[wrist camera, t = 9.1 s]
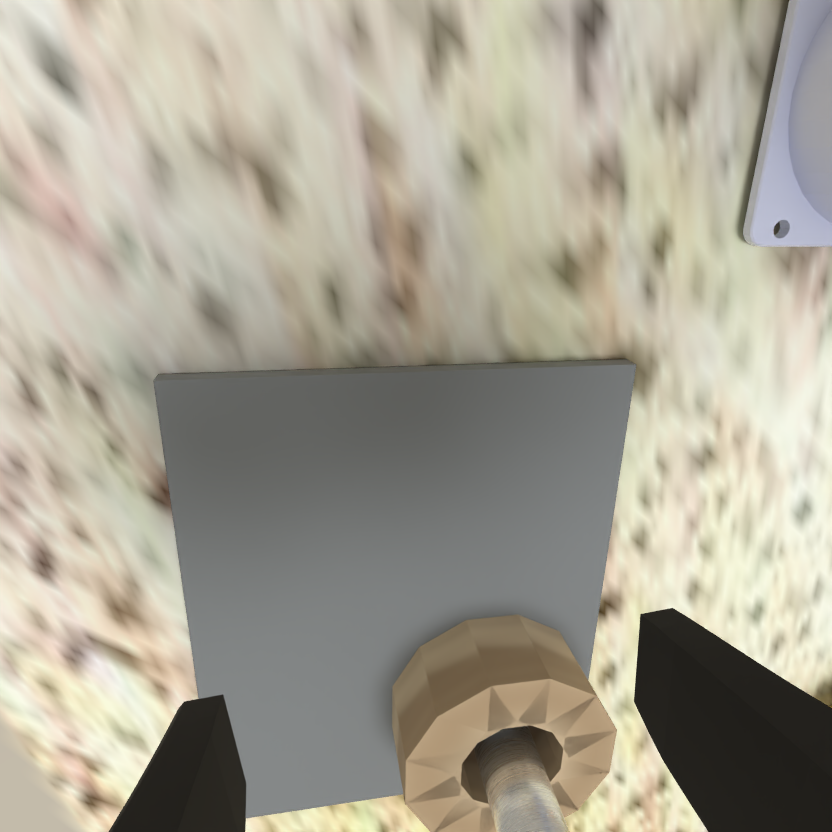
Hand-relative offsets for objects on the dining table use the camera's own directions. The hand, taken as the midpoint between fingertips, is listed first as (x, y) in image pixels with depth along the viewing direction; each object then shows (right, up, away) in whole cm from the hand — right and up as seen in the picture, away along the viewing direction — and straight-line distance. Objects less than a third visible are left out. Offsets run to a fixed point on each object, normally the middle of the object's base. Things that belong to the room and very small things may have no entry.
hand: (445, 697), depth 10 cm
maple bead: (+2, -5, +12) cm, 13 cm away
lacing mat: (-1, -2, +11) cm, 11 cm away
